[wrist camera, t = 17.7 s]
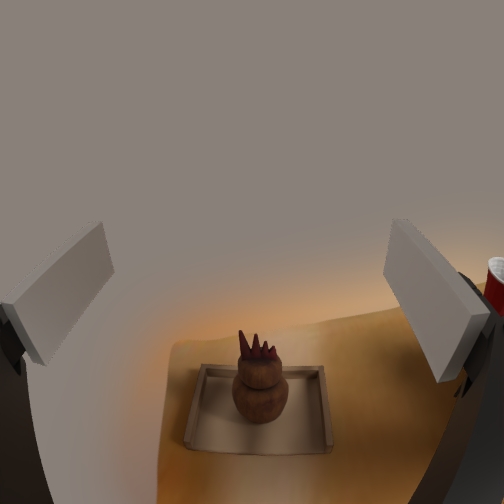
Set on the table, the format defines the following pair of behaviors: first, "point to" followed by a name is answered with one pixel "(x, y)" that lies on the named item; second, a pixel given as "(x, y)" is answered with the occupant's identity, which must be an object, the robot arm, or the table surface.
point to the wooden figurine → (259, 382)
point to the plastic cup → (495, 284)
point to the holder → (254, 434)
